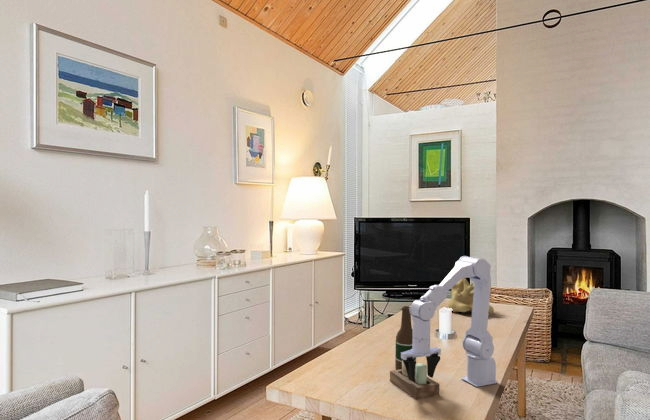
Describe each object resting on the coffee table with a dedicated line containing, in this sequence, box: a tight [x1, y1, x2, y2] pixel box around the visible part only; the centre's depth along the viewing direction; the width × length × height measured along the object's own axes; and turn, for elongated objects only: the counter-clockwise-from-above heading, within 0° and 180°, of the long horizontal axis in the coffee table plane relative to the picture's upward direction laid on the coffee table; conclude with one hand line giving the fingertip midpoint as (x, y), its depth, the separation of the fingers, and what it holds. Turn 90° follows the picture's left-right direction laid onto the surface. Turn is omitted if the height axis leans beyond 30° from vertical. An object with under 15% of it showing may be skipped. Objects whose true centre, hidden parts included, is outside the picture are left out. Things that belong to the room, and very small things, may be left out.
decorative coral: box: [447, 278, 495, 313], centre depth 261 cm, size 26×22×25 cm
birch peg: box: [402, 361, 408, 377], centre depth 156 cm, size 4×4×9 cm
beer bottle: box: [394, 305, 417, 370], centre depth 167 cm, size 8×8×24 cm
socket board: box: [389, 369, 440, 400], centre depth 152 cm, size 9×16×4 cm, turn 23°
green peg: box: [415, 362, 428, 385], centre depth 148 cm, size 4×4×9 cm
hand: (420, 378), depth 148 cm, fingers open, 7 cm apart
